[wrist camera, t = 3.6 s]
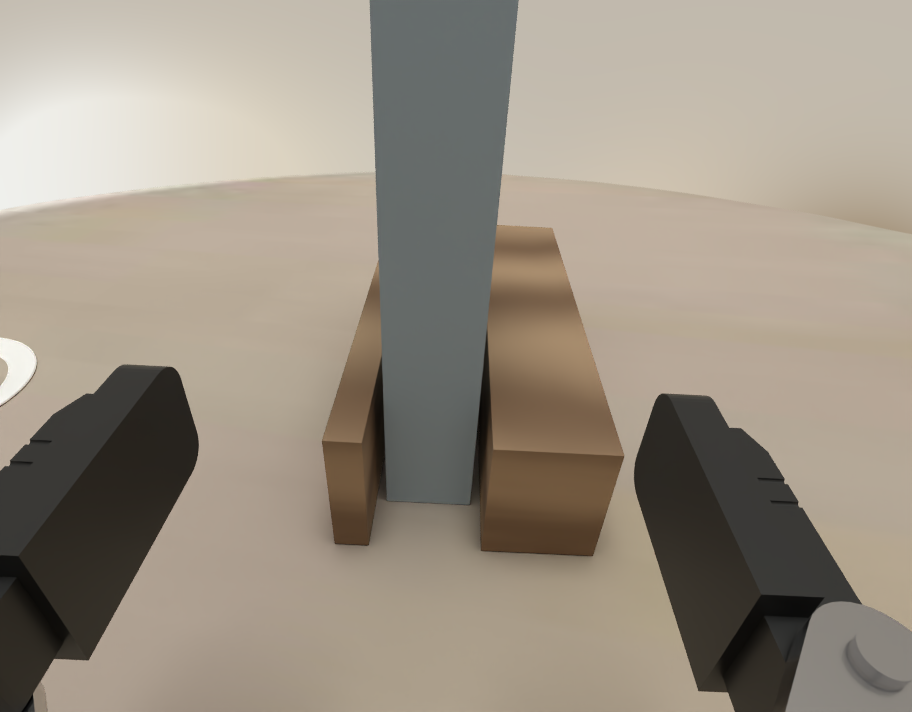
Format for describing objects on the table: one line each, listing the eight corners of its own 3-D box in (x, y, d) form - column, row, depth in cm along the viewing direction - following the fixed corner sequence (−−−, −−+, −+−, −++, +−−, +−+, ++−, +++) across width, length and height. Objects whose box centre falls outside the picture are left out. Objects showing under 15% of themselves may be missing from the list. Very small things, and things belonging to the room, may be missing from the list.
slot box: (593, 555, 20) (624, 456, 17) (334, 543, 20) (321, 440, 17) (540, 304, 34) (552, 228, 31) (392, 296, 34) (391, 219, 31)
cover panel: (469, 504, 21) (527, -95, 11) (387, 500, 21) (366, -106, 11) (469, 378, 28) (505, -72, 17) (406, 375, 28) (404, -78, 17)
